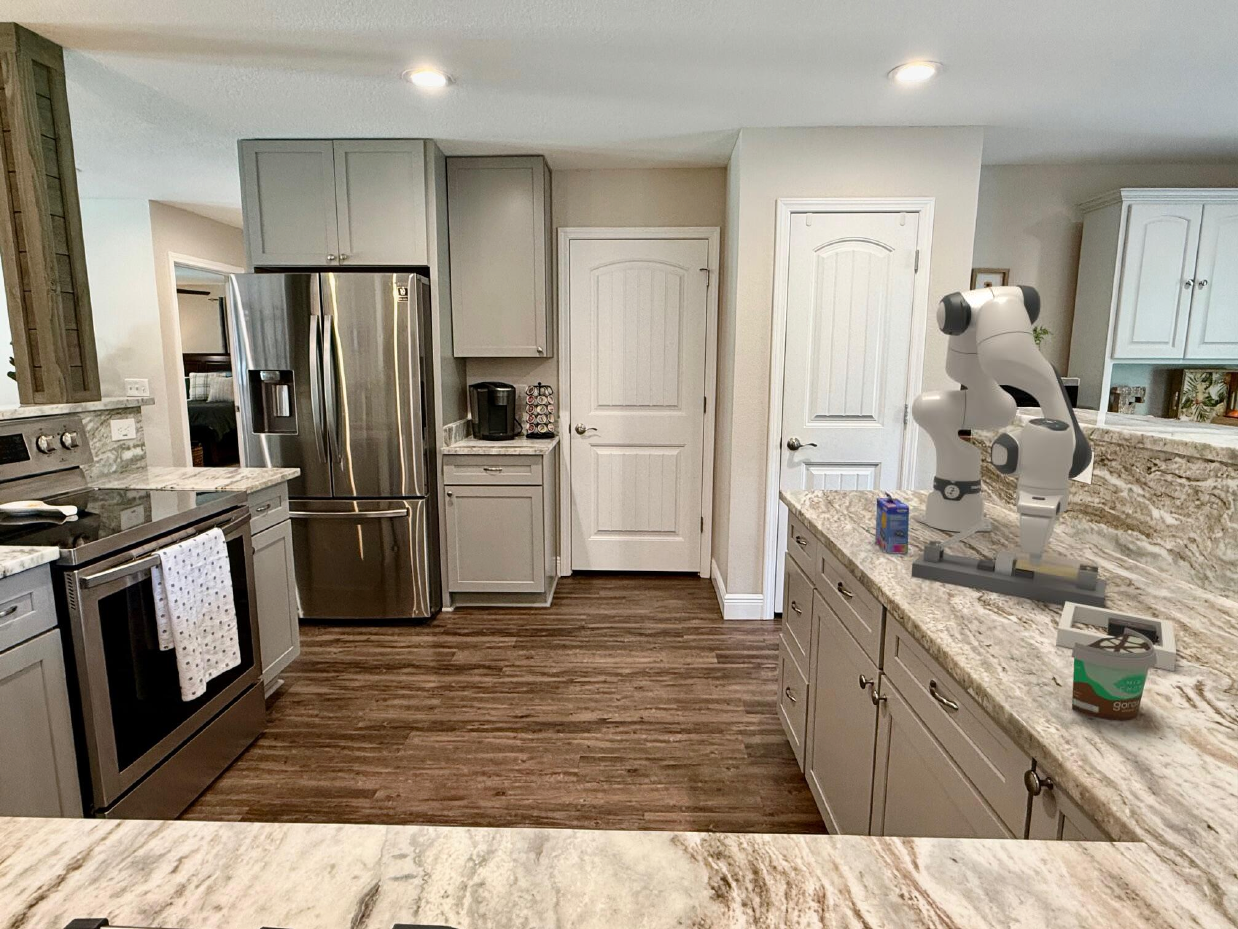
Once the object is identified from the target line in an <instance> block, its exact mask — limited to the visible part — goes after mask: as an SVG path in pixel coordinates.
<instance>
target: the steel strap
mask: <svg viewBox="0 0 1238 929" xmlns="http://www.w3.org/2000/svg"><path fill="white" fill-rule="evenodd" d="M985 526H986V523H985V522H984V521H983V520H982V521H980V522H978V523H976V524H974V525H973V526H971V527H969V528H967V529H965V530H964V531H962V532H958V533H956V534H955V535H953V536H951V537H950V538H948V539H945V540H944V541H941V542H942V543H940V544H938V545H934V546H936V547H940V551H942V550H943V549H944V550H945V549H947V548H949V547H950V546H952V545H955V544H956V543H958V542H960V541H962V540H963V539H965V538H967V537H969V536H971V535H973V534H974V533H976V532H979V531H978V530H980V529H982V528H984V527H985Z"/></svg>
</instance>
